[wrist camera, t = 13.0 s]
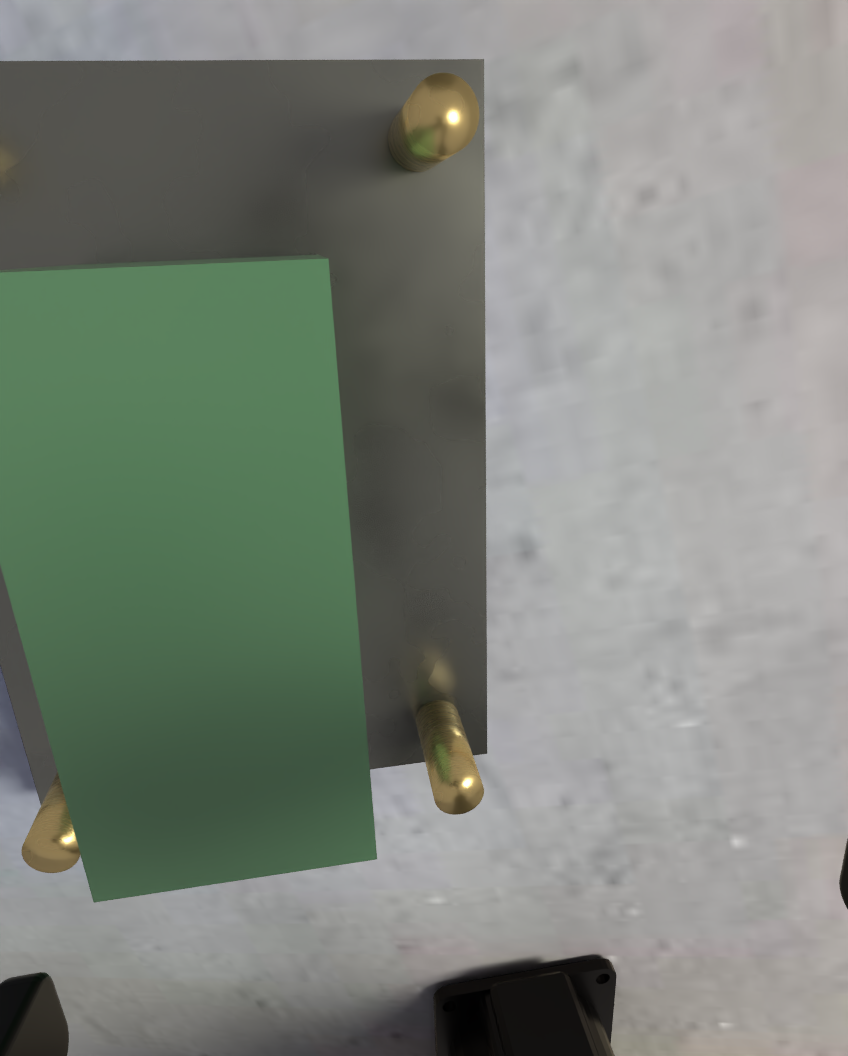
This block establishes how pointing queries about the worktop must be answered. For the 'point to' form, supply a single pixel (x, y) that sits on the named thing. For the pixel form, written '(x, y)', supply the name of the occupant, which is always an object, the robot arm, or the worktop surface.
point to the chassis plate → (359, 326)
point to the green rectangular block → (186, 565)
